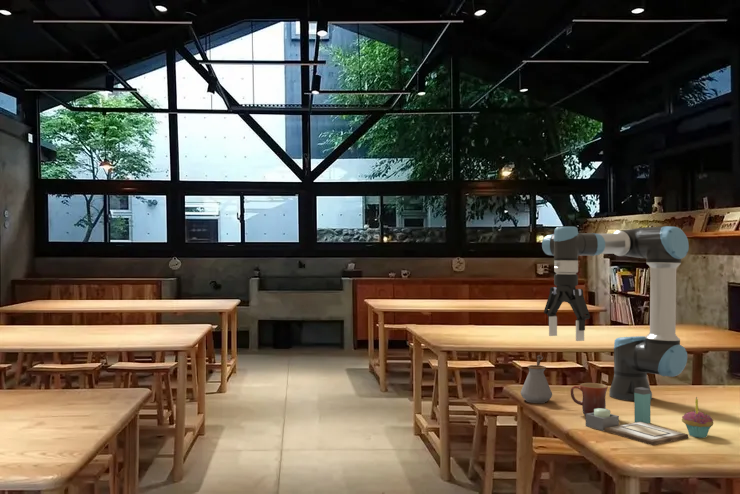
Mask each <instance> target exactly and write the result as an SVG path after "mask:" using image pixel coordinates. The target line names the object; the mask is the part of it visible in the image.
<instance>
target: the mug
mask: <svg viewBox="0 0 740 494" xmlns="http://www.w3.org/2000/svg"><path fill="white" fill-rule="evenodd" d="M574 389H578V390H579V391H581V393H582V400H578V399H577V398H576V397H575V393H574ZM607 390H608V385H606V384H603V383H596V382H584V383H583V382H582V383H580V384H579V385H572V387H571V388H570V397H571V399H572V401H573V402H574V403H575V404H577V405H578V406H581V407H582V409H581V410H582V413H583V415H584V416H585V417H586V414H588V413H594V409H597V408H602V409H607V408H606V406H607V405H606V403H607V402H606V395H607Z"/></svg>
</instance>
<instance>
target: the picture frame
mask: <svg viewBox="0 0 740 494" xmlns="http://www.w3.org/2000/svg"><path fill="white" fill-rule="evenodd" d="M604 432H607V433H610V434H614V435H617V436H620V437H622V438H627V439H630V440H633V441H637V442H640V443H644V444H647V445H650V446H655V445H659V444H660V445H661V444H664V443H670V442H674V441H675V442H676V441H680V440H684V439H688V438H689V433H684V432H681V431H677V430H673V429H669V428H665V427H662V426H658V425H654V424H652V423H648V424H647V423H644V422H635V421H634V422H630V423H624V424H619V425H618V426H612V427H606V428H605V431H604Z"/></svg>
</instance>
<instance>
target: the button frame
mask: <svg viewBox="0 0 740 494" xmlns="http://www.w3.org/2000/svg"><path fill="white" fill-rule="evenodd" d="M618 425H620V415H616V414H612V413H610V417H605V418H602V417H598V416H594V413H588V414H586V416H585V427H589V428H592V429H595V430H598V431H601V432H606V431H605V428H606V427H612V426H618Z"/></svg>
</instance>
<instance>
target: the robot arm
mask: <svg viewBox="0 0 740 494" xmlns="http://www.w3.org/2000/svg"><path fill="white" fill-rule="evenodd" d="M578 230H579V229H578V227H577V226H557V227H556V228H554V231H553V232H554V233H553V234H547V235H546V236H544V237H543V238H542V242H541V247H542V251H543V253H544V254H545V255H547V256H553V263H554V264H553V265H554V267H553V269H554V271H553V272H554V273H555V274H554V276H553V280H554V281H553V285H554V287H553V286H552V287H551V286H550V288H549V295H548V297H547V300H546V304H545V307H544V310H543V313H544V314H546V315H547V317H548V318H547V320H548V321H547V322H548V323H547V324H548V336H549V337H556V336H557V337H558V316H557V312H558V311H559V309H560V307H561V306H562V305H563V303H568V305H570V307H571V309H572V311H573V313H574V315H575V318H576V320H575V341H576V342H582V341H585V331H586V320H588V319H591V315H590V312H589V310H588V305H587V303H586V300H585V297H584V289H583V288H576V286H578V285H579V275H578V272H579V256H590V257H591V256H592V257H594V256H599V255H608V254H612V255H613V254H614V255H615V256H618V257H631V258H637V259H639V258H640V259H645V260H646V261H645V262H646V265H648V266H649V268H650V282H649V283H650V287H649V288H650V289H649V290H650V292H649V294H650V295H649V298H650V299H649V300H650V301H649V333H648V334H647V335H642V336H641V335H638V336H623V337H621V336H620V337H617V338H615V339H614V344H613V345H614V347H613V372H614V373H613V374H614V375H613V378H612V382H611V385H610V387H609V395H608V396H609V397H611V398H613V399H616V400H622V401H633V402H634V388H639V387H643V388H648V389H650V401H652V399H653V392H652V390H651V387H650V386H651V385H650V383H649V379H648V374H653V375H659V376H662V377H673V378H674V377H676V376H679V375H680V374H682V372H683V370H685V368H686V365H687V363H688V352H687V349H686V348H685V347H684V346H682V345H681V339H680V337H678V335H677V334H676V332H677V331H676V327H677V324H676V323H677V322H676V321H677V320H676V318H677V317H676V316H677V269H678V268H679V266H680V265H682V259H684V258H685V257H686V256H687V255H688V252H689V247H690V246H689V240H688V237H687V235H686V233H685V232H684V231H683V230H682V229H681V228H680V227H677V226H670V225H669V226H668V225H666V226H665V225H664V226H652V227H651V226H649V227H646V226H645V227H643V226H642V227H637V228H631V229H626V230H616V231H614V232H613V233H608V232H607V233H594V232H587V233H585V232H580V233H579V231H578ZM555 286H556V287H555Z"/></svg>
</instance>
